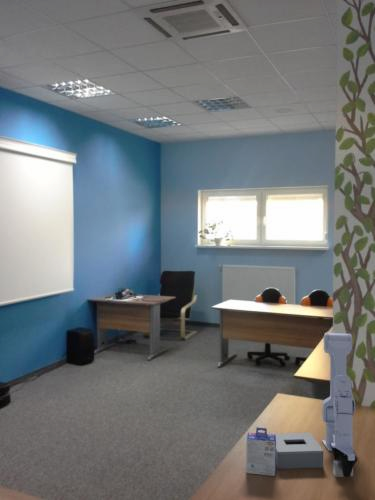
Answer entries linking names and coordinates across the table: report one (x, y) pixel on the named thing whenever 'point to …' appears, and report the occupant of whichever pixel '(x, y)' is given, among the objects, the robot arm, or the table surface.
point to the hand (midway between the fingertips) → (342, 470)
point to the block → (338, 468)
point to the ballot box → (298, 451)
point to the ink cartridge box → (261, 453)
